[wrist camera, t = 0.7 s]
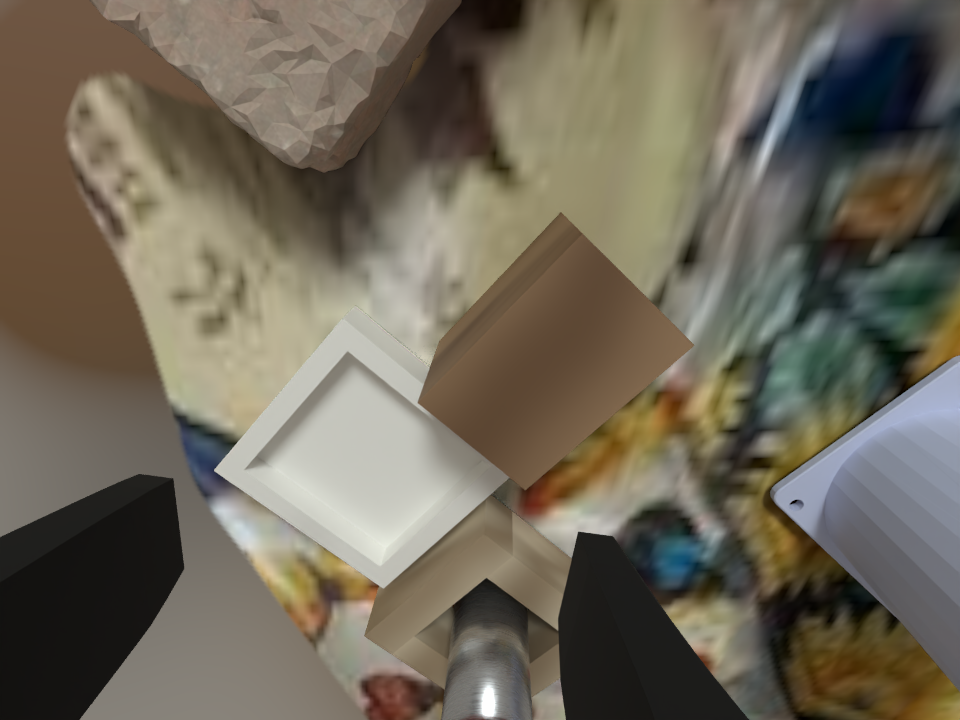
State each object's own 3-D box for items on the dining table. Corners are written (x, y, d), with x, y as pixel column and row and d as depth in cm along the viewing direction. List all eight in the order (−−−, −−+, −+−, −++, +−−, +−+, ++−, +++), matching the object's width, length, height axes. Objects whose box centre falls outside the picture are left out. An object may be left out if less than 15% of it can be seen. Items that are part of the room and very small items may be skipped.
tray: (521, 444, 20) (522, 466, 18) (391, 561, 22) (383, 589, 21) (355, 305, 18) (342, 318, 16) (233, 448, 20) (213, 470, 19)
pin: (557, 586, 22) (582, 803, 15) (493, 634, 23) (488, 858, 16) (488, 533, 21) (479, 736, 14) (426, 586, 22) (387, 799, 15)
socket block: (607, 586, 22) (619, 637, 20) (495, 668, 24) (494, 722, 22) (486, 491, 20) (484, 534, 18) (378, 586, 23) (364, 636, 20)
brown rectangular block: (644, 294, 17) (694, 345, 13) (520, 409, 19) (525, 490, 15) (560, 211, 17) (582, 233, 12) (439, 340, 18) (417, 402, 14)
